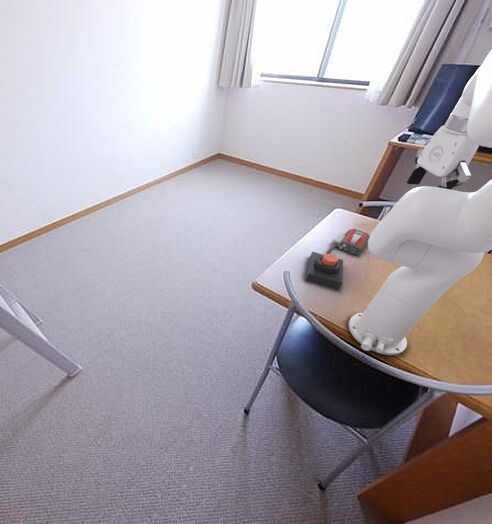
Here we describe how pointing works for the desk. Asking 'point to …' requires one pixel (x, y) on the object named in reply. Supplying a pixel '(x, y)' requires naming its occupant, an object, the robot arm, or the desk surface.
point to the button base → (324, 272)
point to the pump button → (329, 259)
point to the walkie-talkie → (350, 241)
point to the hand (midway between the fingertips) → (423, 191)
